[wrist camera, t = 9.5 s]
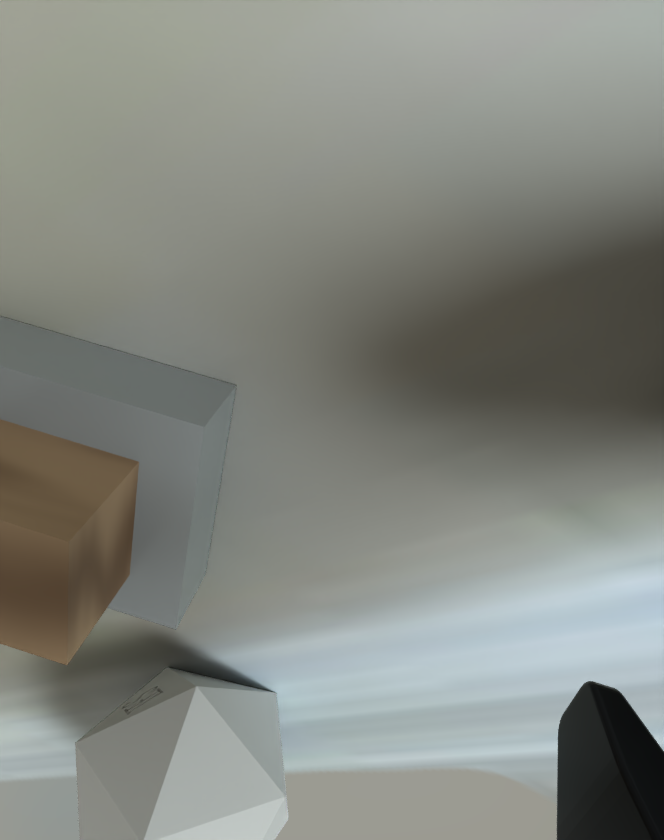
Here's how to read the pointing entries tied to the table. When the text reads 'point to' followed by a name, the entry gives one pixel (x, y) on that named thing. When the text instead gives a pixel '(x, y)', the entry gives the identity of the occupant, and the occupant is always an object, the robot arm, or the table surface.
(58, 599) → the block
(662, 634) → the table surface
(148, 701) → the die
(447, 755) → the table surface
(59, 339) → the base
